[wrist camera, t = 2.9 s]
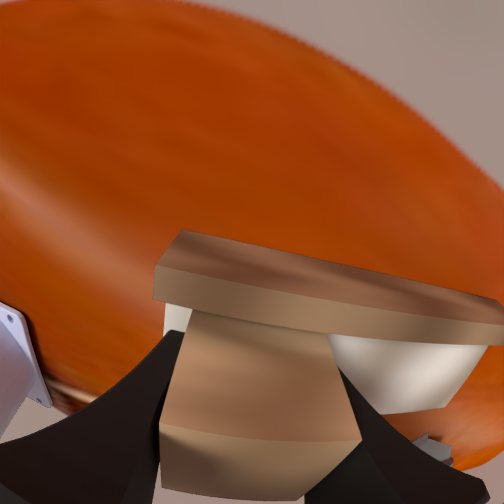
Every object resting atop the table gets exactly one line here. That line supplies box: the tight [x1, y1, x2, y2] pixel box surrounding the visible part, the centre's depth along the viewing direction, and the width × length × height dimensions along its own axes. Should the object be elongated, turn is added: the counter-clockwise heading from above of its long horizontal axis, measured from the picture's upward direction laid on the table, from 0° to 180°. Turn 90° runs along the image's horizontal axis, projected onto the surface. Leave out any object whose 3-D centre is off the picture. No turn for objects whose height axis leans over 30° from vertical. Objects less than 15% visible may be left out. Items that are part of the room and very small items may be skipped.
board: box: [153, 230, 504, 415], centre depth 10 cm, size 16×7×3 cm, turn 77°
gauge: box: [159, 309, 362, 501], centre depth 8 cm, size 4×8×5 cm, turn 167°
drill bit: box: [412, 432, 454, 467], centre depth 13 cm, size 5×5×10 cm
